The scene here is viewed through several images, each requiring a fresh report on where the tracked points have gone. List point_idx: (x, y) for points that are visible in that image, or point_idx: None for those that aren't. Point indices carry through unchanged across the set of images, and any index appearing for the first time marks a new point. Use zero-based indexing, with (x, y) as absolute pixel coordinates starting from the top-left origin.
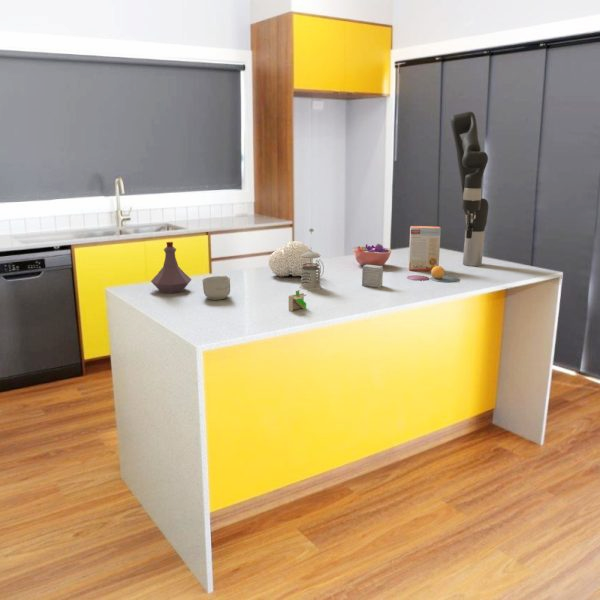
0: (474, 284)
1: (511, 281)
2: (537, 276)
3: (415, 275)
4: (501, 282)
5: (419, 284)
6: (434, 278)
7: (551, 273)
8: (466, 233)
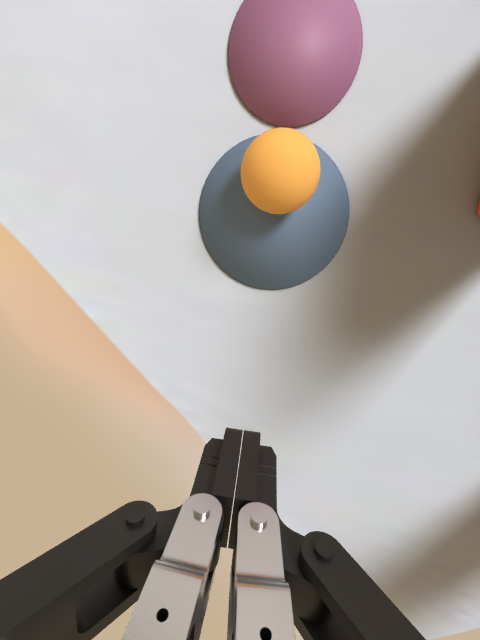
0: (179, 331)
1: None
2: None
3: (358, 40)
4: None
5: (135, 43)
6: None
7: None
8: (246, 460)
